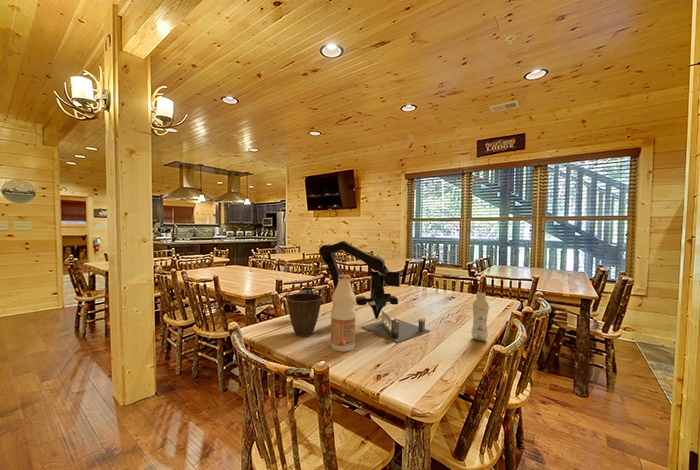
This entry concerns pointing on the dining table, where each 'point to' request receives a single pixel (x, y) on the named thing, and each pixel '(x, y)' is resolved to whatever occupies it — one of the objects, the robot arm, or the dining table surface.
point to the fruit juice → (343, 316)
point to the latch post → (421, 324)
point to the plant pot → (304, 312)
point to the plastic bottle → (480, 317)
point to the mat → (404, 330)
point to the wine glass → (308, 290)
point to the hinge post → (395, 329)
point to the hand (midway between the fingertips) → (376, 318)
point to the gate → (385, 318)
